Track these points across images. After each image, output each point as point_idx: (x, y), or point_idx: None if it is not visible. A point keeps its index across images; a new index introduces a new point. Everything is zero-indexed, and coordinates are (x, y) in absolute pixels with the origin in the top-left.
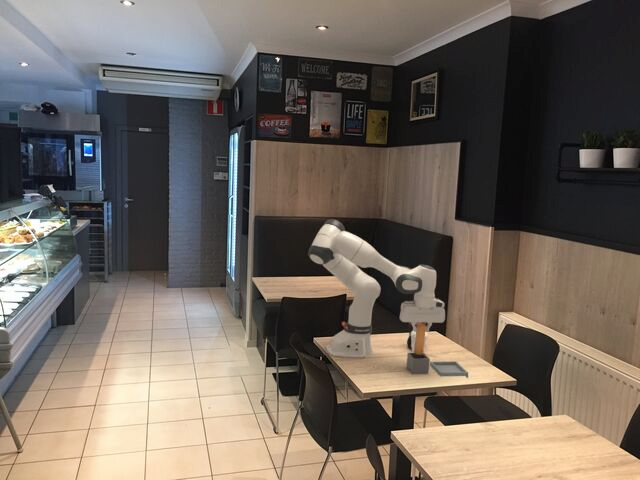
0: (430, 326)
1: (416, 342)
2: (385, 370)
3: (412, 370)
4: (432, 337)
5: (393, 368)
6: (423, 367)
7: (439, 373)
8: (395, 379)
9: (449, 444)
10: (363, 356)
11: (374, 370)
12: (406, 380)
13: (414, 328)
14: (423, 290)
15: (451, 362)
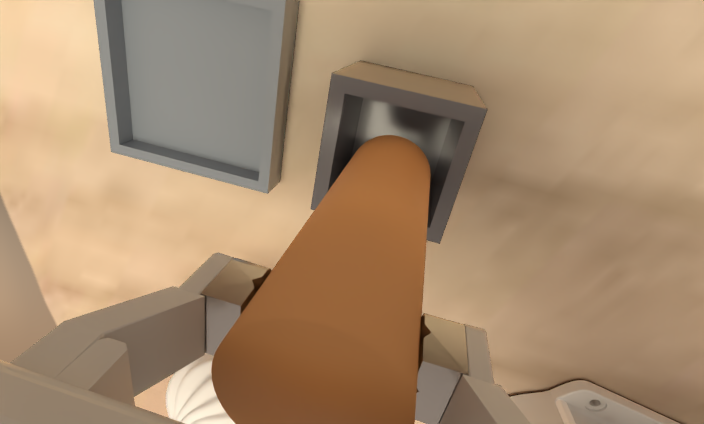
0: (125, 302)
1: (427, 214)
2: (581, 214)
3: (476, 92)
4: None
5: (508, 223)
6: (391, 75)
7: (288, 25)
8: (632, 66)
9: None
10: (581, 386)
11: (654, 235)
12: (564, 27)
13: (492, 376)
14: None
15: (142, 149)
